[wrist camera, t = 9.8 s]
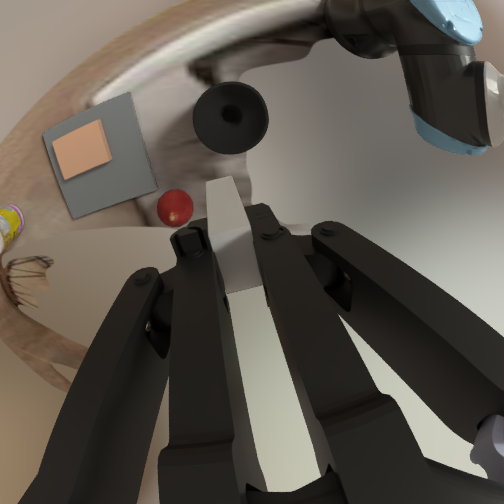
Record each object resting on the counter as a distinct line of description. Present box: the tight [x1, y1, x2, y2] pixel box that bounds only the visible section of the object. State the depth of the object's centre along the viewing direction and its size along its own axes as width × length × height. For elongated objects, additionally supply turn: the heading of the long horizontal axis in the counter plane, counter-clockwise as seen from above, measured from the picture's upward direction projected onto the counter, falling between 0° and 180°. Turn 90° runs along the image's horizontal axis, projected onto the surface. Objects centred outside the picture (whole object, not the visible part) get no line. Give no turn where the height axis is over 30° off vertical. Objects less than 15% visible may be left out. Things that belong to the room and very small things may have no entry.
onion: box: [157, 189, 193, 227], centre depth 42 cm, size 6×6×8 cm
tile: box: [52, 119, 112, 180], centre depth 35 cm, size 2×7×9 cm
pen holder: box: [193, 82, 269, 154], centre depth 35 cm, size 9×9×10 cm
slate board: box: [42, 92, 158, 219], centre depth 38 cm, size 17×17×1 cm
